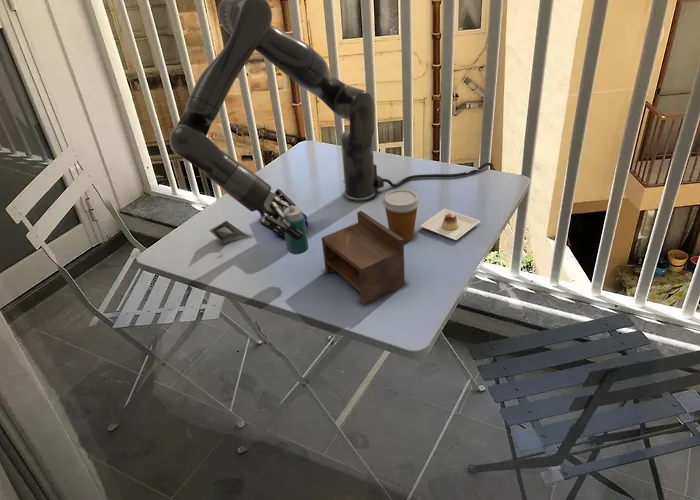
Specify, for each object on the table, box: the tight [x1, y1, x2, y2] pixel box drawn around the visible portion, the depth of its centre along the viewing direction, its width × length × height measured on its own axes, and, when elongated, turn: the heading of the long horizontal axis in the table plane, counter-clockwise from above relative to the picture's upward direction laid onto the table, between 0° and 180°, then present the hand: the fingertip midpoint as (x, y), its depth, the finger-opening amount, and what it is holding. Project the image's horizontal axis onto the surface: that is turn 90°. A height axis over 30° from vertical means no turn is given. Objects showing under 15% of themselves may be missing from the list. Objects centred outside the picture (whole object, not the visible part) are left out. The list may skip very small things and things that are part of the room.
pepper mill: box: [283, 205, 309, 255], centre depth 135 cm, size 5×5×12 cm
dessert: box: [419, 208, 481, 241], centre depth 154 cm, size 12×12×5 cm
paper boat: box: [208, 220, 249, 244], centre depth 155 cm, size 12×6×9 cm
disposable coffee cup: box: [382, 189, 420, 243], centre depth 150 cm, size 10×10×12 cm
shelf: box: [321, 210, 406, 306], centre depth 135 cm, size 12×17×13 cm
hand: (302, 230), depth 135 cm, fingers closed on pepper mill, 5 cm apart
